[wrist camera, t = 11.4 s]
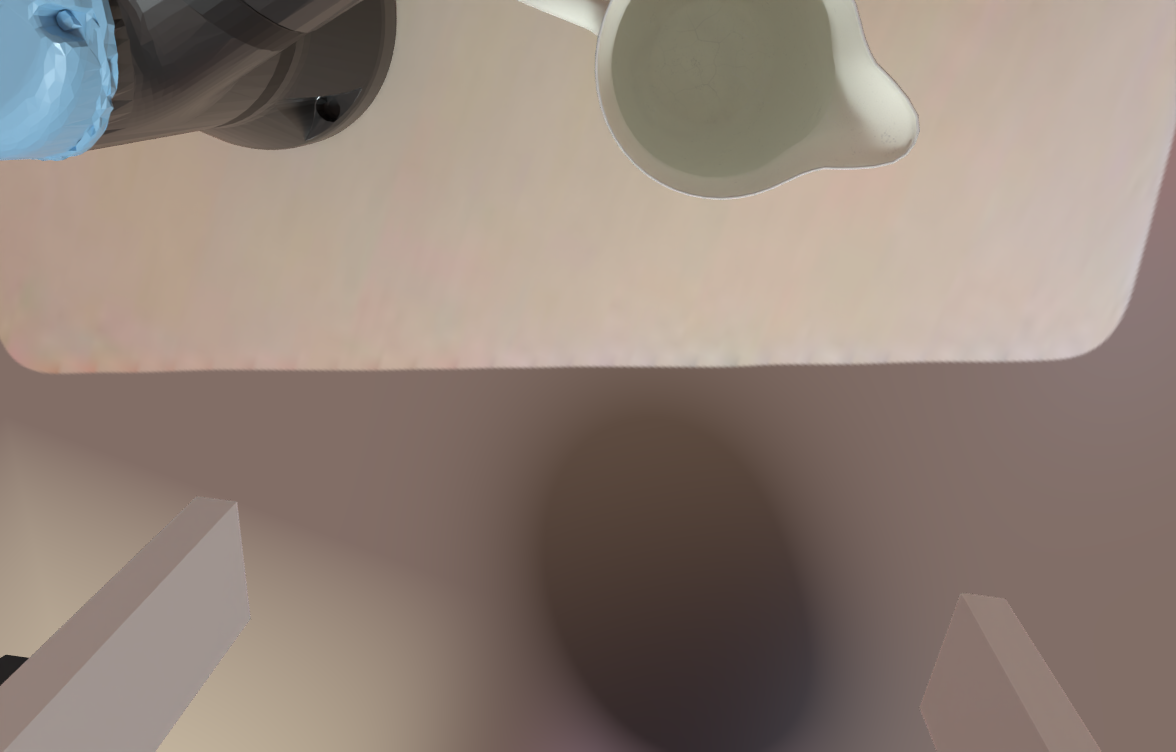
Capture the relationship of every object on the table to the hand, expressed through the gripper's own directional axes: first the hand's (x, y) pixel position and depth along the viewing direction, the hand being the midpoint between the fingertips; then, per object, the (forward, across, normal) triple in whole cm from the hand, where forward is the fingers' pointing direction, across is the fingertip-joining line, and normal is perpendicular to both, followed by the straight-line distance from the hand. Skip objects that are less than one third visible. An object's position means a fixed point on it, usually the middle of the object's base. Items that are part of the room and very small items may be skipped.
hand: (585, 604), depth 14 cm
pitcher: (+35, +2, +9) cm, 36 cm away
